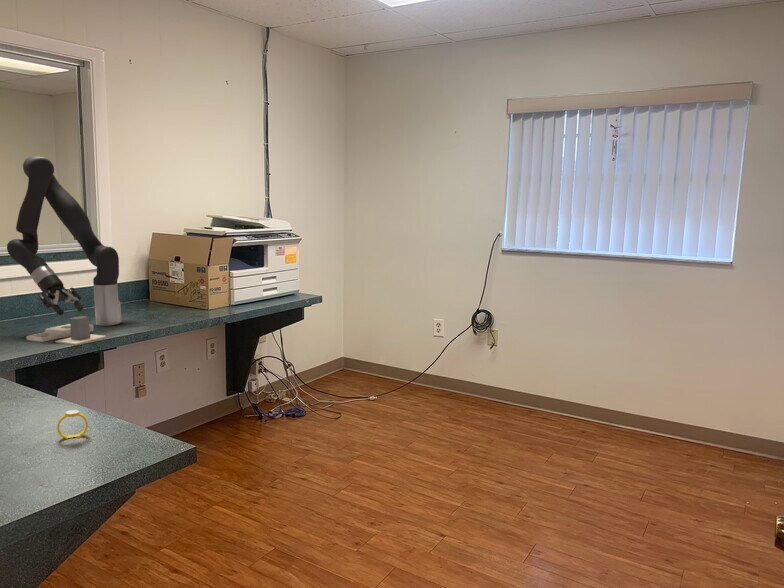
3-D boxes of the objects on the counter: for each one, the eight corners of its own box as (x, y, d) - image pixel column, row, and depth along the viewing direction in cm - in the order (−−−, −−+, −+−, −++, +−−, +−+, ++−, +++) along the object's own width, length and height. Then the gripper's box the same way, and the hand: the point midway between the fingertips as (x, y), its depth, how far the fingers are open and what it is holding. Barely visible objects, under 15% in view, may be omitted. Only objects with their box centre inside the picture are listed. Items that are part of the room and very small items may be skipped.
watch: (87, 434, 136) (87, 408, 135) (87, 438, 133) (88, 412, 133) (57, 436, 133) (57, 410, 132) (57, 441, 131) (57, 414, 130)
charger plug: (82, 336, 229) (81, 316, 228) (90, 337, 228) (89, 316, 226) (71, 339, 224) (69, 318, 223) (79, 340, 223) (78, 319, 222)
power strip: (75, 328, 246) (74, 321, 245) (93, 330, 242) (93, 323, 242) (25, 339, 225) (24, 331, 225) (44, 342, 222) (43, 334, 221)
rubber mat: (86, 335, 234) (86, 333, 234) (106, 337, 231) (106, 335, 231) (55, 342, 221) (55, 340, 221) (75, 345, 218) (75, 343, 218)
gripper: (34, 276, 220) (60, 308, 218) (67, 271, 234) (92, 302, 231) (25, 289, 223) (50, 321, 221) (58, 284, 236) (82, 315, 234)
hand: (71, 312), depth 226 cm, fingers open, 8 cm apart
